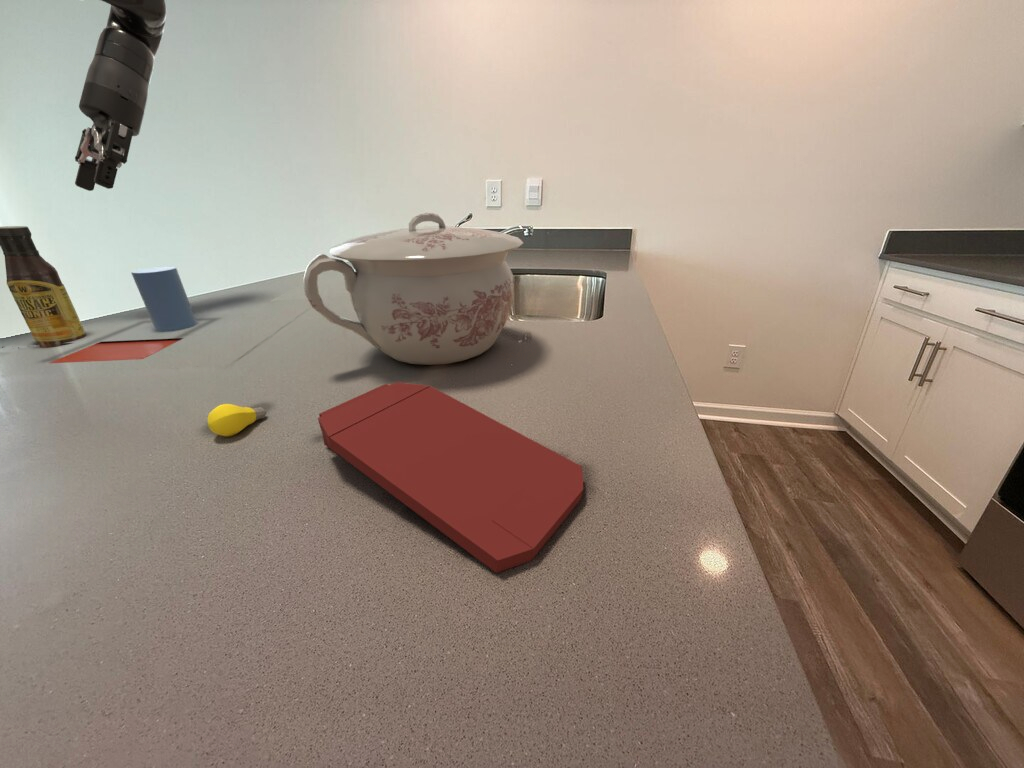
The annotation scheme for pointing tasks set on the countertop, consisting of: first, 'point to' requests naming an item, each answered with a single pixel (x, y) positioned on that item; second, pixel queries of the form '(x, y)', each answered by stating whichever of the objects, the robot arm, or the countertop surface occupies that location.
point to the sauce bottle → (38, 290)
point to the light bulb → (232, 418)
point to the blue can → (164, 298)
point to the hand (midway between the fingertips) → (93, 187)
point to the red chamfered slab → (457, 469)
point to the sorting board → (118, 350)
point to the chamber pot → (423, 289)
